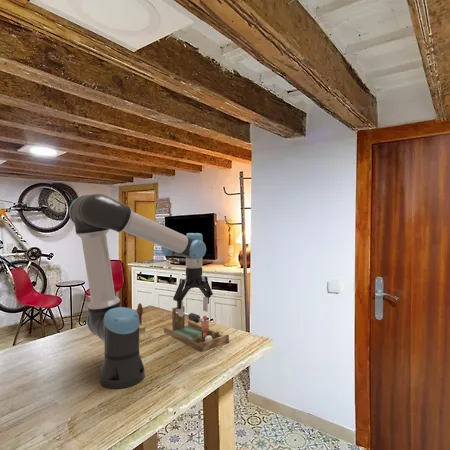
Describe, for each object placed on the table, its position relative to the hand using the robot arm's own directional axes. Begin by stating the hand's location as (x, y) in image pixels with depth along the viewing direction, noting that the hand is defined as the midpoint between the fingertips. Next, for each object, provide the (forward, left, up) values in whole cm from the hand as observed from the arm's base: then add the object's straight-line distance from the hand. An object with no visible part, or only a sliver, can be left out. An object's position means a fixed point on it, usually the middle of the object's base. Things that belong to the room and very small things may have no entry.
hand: (193, 313), depth 152 cm
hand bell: (-18, +19, -12) cm, 28 cm away
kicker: (0, +4, -10) cm, 11 cm away
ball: (0, -9, -8) cm, 12 cm away
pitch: (0, 0, -12) cm, 12 cm away
